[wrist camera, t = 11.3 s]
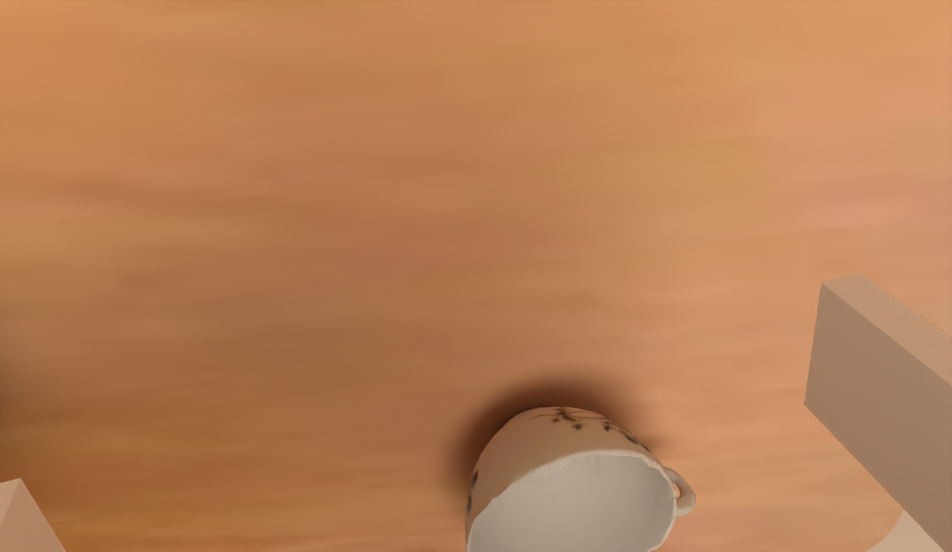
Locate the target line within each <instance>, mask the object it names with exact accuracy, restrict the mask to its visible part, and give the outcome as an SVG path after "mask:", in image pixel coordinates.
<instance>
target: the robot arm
mask: <svg viewBox="0 0 952 552" xmlns="http://www.w3.org/2000/svg"><path fill="white" fill-rule="evenodd" d="M804 405H805V406H806V407H807V408H808V409H809V410H810V411H811V412H812V413H813V414H814V415H815V416H816V417H817V418H818V419H819V420H820V422H821V423H822V424H823V425H824V426H825V427H826V428H827V429H828V430H829V431H830V432H831V433H832V434H833V435H834V436H835V437H836V438H837V439H838V440H839V441H840V442H841V444H842V445H843V446H844V447H845V448H846V449H847V450H848V451H849V452H850V453H851V454H852V455H853V456H854V457H855V458H856V459H857V460H858V461H859V462H860V463H861V464H862V465H863V467H864V468H865V469H866V470H867V471H868V472H869V473H870V474H871V475H872V476H873V477H874V478H875V479H876V480H877V481H878V482H879V483H880V484H881V485H882V486H883V487H884V489H885V490H886V491H887V492H888V493H889V494H890V495H891V496H892V497H893V498H894V499H895V500H896V501H897V502H898V503H899V504H900V505H901V506H902V507H903V508H904V509H905V510H906V511H907V512H908V513H909V515H910V516H911V517H912V518H913V519H914V520H915V521H916V522H917V523H918V524H919V525H920V526H921V527H922V528H923V529H924V530H925V531H926V532H927V533H928V535H929V536H930V537H931V538H932V539H933V540H934V541H935V542H936V543H937V544H938V545H939V546H940V547H941V548H942V549H943V550H944V551H945V552H952V338H951V337H950V336H948V335H947V334H946V333H944V332H943V331H941V330H940V329H939V328H937V327H936V326H934V325H933V324H932V323H930V322H929V321H927V320H926V319H925V318H923V317H922V316H920V315H919V314H918V313H916V312H915V311H914V310H912V309H911V308H909V307H908V306H907V305H905V304H904V303H902V302H901V301H900V300H898V299H897V298H895V297H894V296H893V295H891V294H890V293H889V292H887V291H886V290H884V289H883V288H882V287H880V286H879V285H877V284H876V283H875V282H873V281H872V280H870V279H869V278H868V277H866V276H865V275H863V274H862V273H859V274H855V275H851V276H847V277H843V278H839V279H835V280H831V281H827V282H822V283H821V289H820V296H819V304H818V311H817V318H816V325H815V332H814V339H813V346H812V353H811V360H810V367H809V374H808V381H807V388H806V395H805V402H804ZM0 552H66V551H65V549H64V547H63V546H62V544H61V543H60V541H59V539H58V538H57V536H56V534H55V533H54V531H53V530H52V528H51V526H50V525H49V523H48V522H47V520H46V518H45V517H44V515H43V513H42V512H41V510H40V509H39V507H38V505H37V504H36V502H35V500H34V499H33V497H32V496H31V494H30V492H29V491H28V489H27V488H26V486H25V484H24V483H23V481H22V479H21V478H18V479H14V480H10V481H6V482H2V483H0Z"/></svg>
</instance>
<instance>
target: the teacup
mask: <svg viewBox="0 0 952 552" xmlns="http://www.w3.org/2000/svg"><path fill="white" fill-rule="evenodd" d="M672 482H674V483H675V484H676V485H677V487H678V488H679V490H680V497H679V498H676V496H677V493H676V491H675V488H674V486H673V483H672ZM695 504H696V495H695V493H694V492H693V490H692V489H691V488H690V486H689V485H688V483H687V482H686V481H685V480H684V479H683V478H682V477H681V476H680V475H679V474H678V473H676V472H675V471H673V470H672V469H670V468H667V467H665V466H663V465H662V464H661V462H660V461H659V460H658V459H657V458H656V456H655V455H654V454H653V453H652V452H651V451H650V450H649V449H648V448H647V447H646V446H645V445H644V444H643V443H642V442H641V441H640V440H639V439H638V438H637V437H635V436H634V435H633V434H632V433H630V432H629V431H628V430H626V429H625V428H623V427H622V426H620V425H619V424H617V423H616V422H614V421H612V420H611V419H609V418H607V417H604V416H602V415H600V414H597V413H594V412H591V411H587V410H583V409H578V408H572V407H538V408H534V409H530V410H526V411H524V412H521V413H519V414H517V415H515V416H514V417H513V418H511V419H510V420H509V421H508V422H507V423H506V424H505V425H504V426H503V427H502V428H501V429H500V430H499V431H498V432H497V433H496V434H495V435H494V437H493V438H492V439H491V440H490V441H489V443H488V444H487V445H486V447H485V449H484V450H483V452H482V453H481V455H480V457H479V459H478V461H477V463H476V466H475V468H474V470H473V473H472V476H471V479H470V483H469V487H468V491H467V498H466V507H465V533H466V552H651V551H653V550H657V548H658V547H659V546H660V545H662V544H663V542H664V541H665V540H666V538H667V537H668V535H669V533H670V531H671V528H672V527H673V525H674V522H675V519H676V517H682V516H685V515H688V514H689V513H690V512H691V511H693V509H694V508H695Z"/></svg>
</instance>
